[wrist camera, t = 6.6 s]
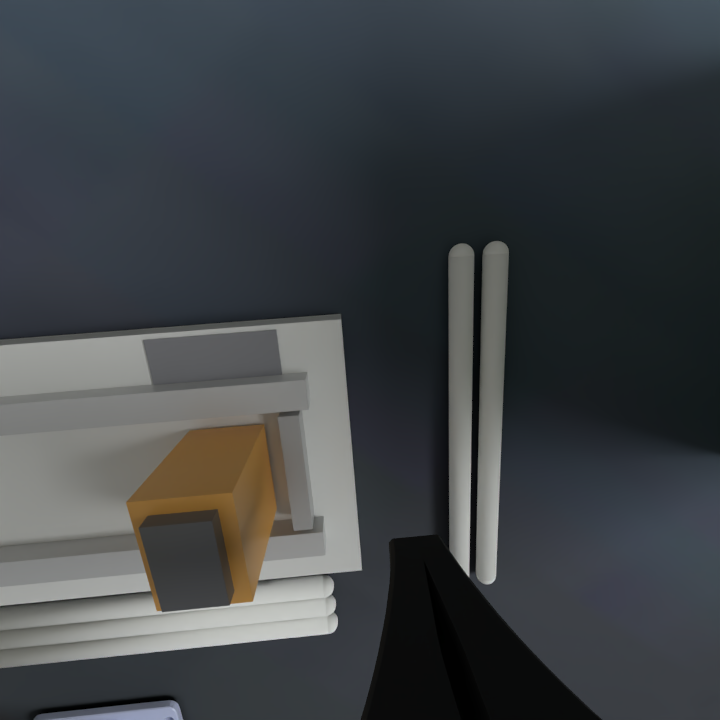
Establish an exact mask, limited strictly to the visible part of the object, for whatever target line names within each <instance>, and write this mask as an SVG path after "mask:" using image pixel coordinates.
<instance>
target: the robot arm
mask: <svg viewBox="0 0 720 720" xmlns="http://www.w3.org/2000/svg"><path fill="white" fill-rule="evenodd" d="M389 552H390V570H391V571H390V585H389V593H388V601H387V608H386V615H385V621H384V626H383V631H382V636H381V642H380V647H379V652H378V656H377V661H376V665H375V669H374V673H373V677H372V681H371V685H370V689H369V693H368V697H367V700H366V704H365V707H364V711H363V714H362V718H361V720H602V719H601V718H600V717H598V716H597V715H596V714H595V713H594V712H593V711H592V710H591V709H590V708H589V707H588V706H587V705H585V704H584V703H583V702H582V701H581V700H580V699H579V698H578V697H577V696H576V695H575V694H574V693H573V692H572V691H571V690H570V689H569V688H568V687H567V686H566V685H564V684H563V683H562V682H561V681H560V680H559V679H558V678H557V677H556V676H555V675H554V674H553V673H552V672H551V671H550V670H549V669H548V668H547V667H546V666H545V665H544V664H543V662H542V661H541V660H540V659H539V658H538V657H537V656H536V655H535V654H534V653H533V652H532V651H531V650H530V649H529V648H528V647H527V646H526V644H525V643H524V642H523V641H522V640H521V639H520V638H519V637H518V636H517V635H516V633H515V632H514V631H513V630H512V629H511V628H510V627H509V626H508V624H507V623H506V622H505V621H504V620H503V619H502V618H501V616H500V615H499V614H498V613H497V612H496V610H495V609H494V608H493V607H492V606H491V604H490V603H489V602H488V601H487V599H486V598H485V597H484V596H483V595H482V593H481V592H480V591H479V590H478V588H477V587H476V586H475V585H474V583H473V582H472V581H471V579H470V578H469V577H468V575H467V574H466V573H465V571H464V570H463V569H462V567H461V566H460V565H459V563H458V562H457V560H456V559H455V558H454V556H453V555H452V553H451V552H450V550H449V549H448V547H447V546H446V544H445V543H444V541H443V540H442V538H441V537H440V536H439V535H427V536H417V537H406V538H396V539H392V540H391V541H390V542H389ZM34 720H183V718H182V714H181V711H180V707H179V705H178V703H177V702H176V701H173V700H164V701H155V702H145V703H136V704H127V705H118V706H109V707H99V708H90V709H81V710H72V711H63V712H53V713H44V714H39V715H37V716H36V717H35V718H34Z"/></svg>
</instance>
